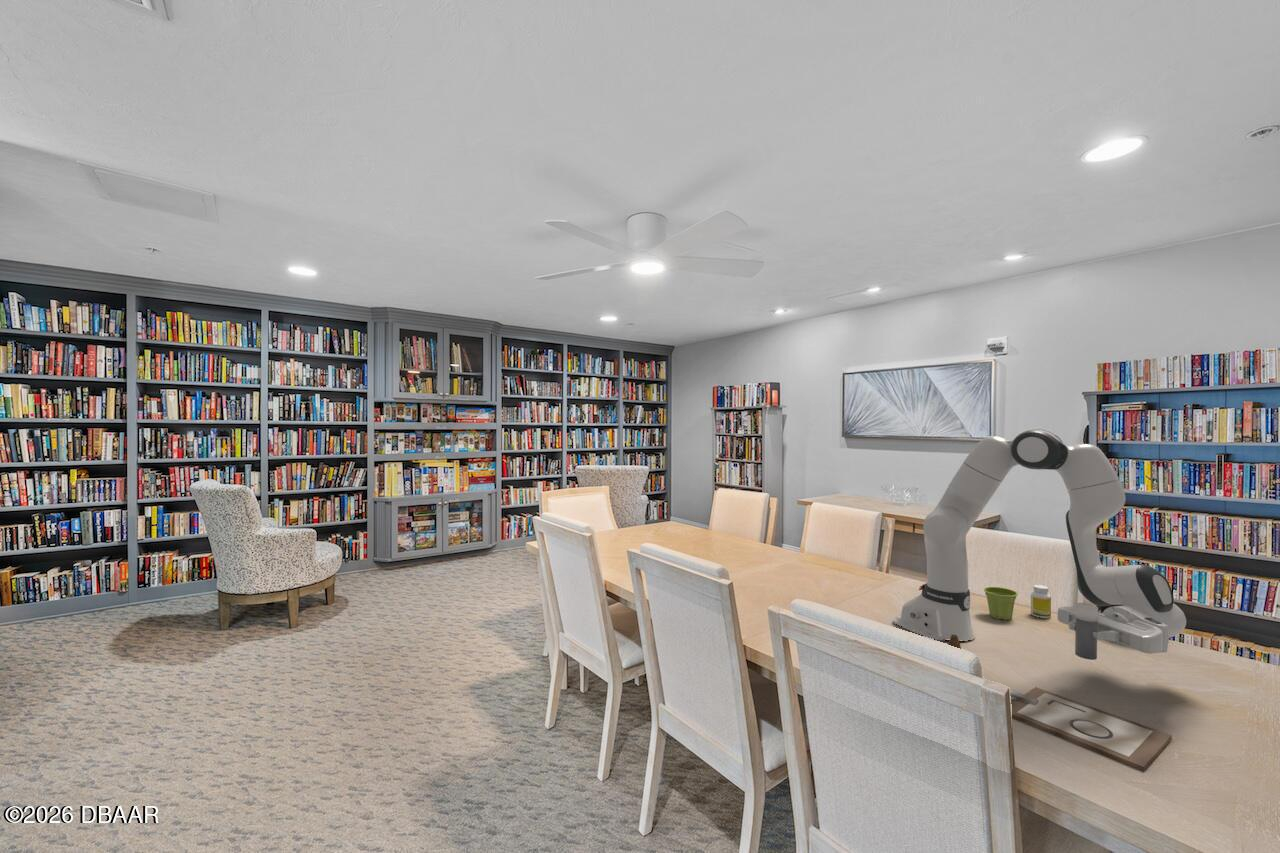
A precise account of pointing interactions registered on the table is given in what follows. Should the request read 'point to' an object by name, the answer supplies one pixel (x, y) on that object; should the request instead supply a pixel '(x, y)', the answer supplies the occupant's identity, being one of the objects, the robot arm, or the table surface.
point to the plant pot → (1000, 602)
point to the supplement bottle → (1040, 602)
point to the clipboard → (1090, 727)
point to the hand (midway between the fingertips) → (1083, 631)
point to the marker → (1086, 630)
